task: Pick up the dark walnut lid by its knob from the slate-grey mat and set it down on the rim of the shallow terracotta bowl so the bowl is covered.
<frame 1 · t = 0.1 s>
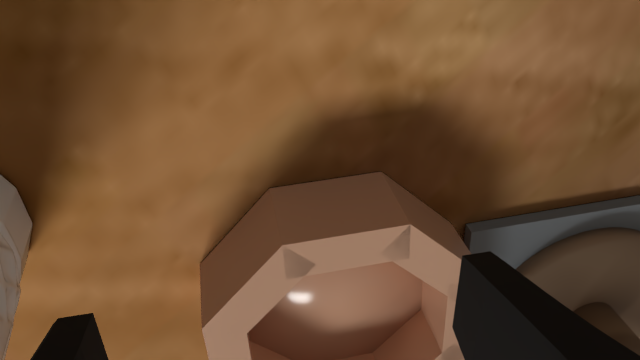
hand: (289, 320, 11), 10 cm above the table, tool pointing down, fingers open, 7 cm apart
bowl: (331, 282, 25), on the table
lid: (574, 309, 28), point 1 cm above the table, touching mat
mat: (567, 300, 28), on the table
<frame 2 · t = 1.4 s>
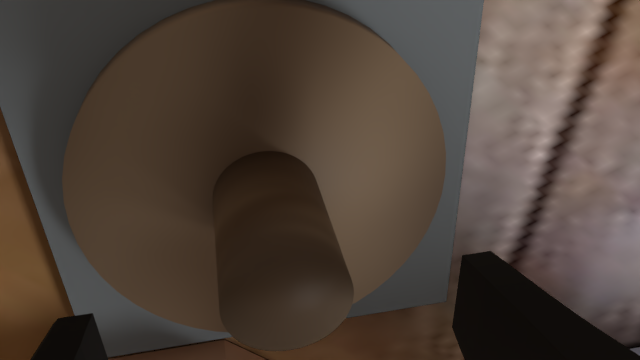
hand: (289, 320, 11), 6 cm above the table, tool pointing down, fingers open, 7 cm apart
lid: (262, 177, 16), point 1 cm above the table, touching mat
mat: (260, 167, 16), on the table
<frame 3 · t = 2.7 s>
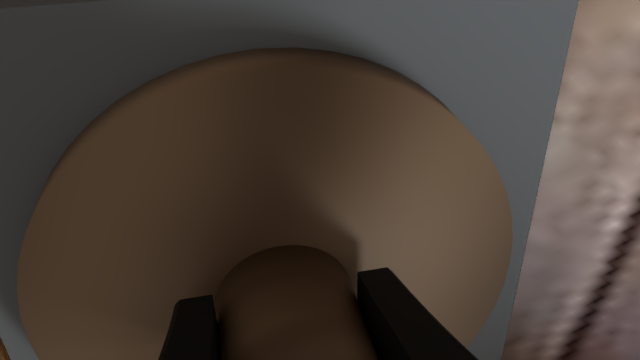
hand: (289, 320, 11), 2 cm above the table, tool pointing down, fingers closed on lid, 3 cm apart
lid: (278, 267, 13), point 1 cm above the table, touching gripper, mat
mat: (274, 250, 13), on the table
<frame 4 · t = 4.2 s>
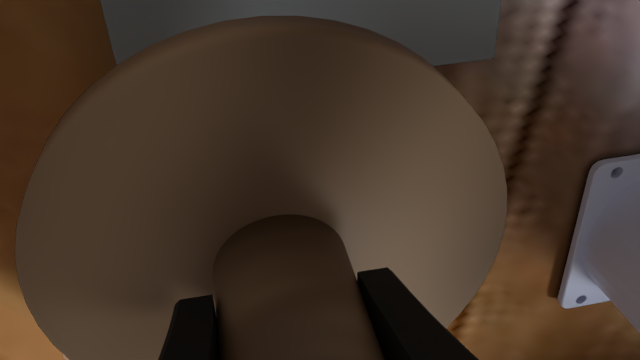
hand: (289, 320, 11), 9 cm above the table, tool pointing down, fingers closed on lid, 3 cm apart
lid: (274, 235, 13), point 7 cm above the table, touching gripper
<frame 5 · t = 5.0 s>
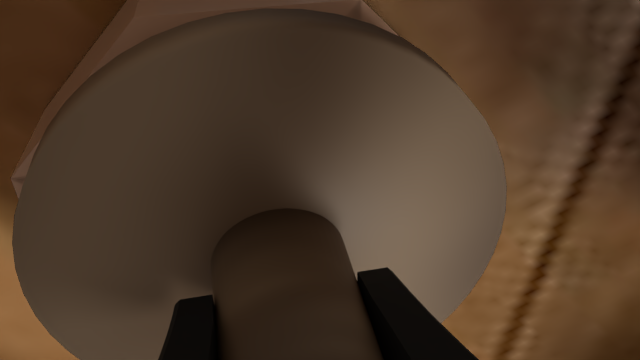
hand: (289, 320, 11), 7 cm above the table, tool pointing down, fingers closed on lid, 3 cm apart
bowl: (256, 157, 17), on the table
lid: (272, 228, 13), point 4 cm above the table, tilted 5°, touching gripper
when the fingers open (6 cm above the table, at t = 5.7 s): lid stays where it is, resting on bowl.
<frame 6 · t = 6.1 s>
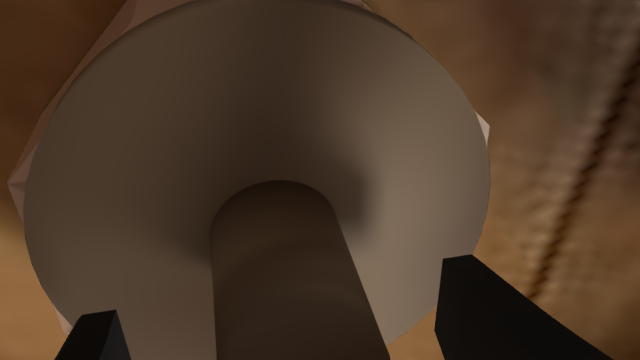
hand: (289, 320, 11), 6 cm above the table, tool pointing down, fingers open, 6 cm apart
bowl: (256, 160, 17), on the table
lid: (269, 208, 13), point 3 cm above the table, touching bowl
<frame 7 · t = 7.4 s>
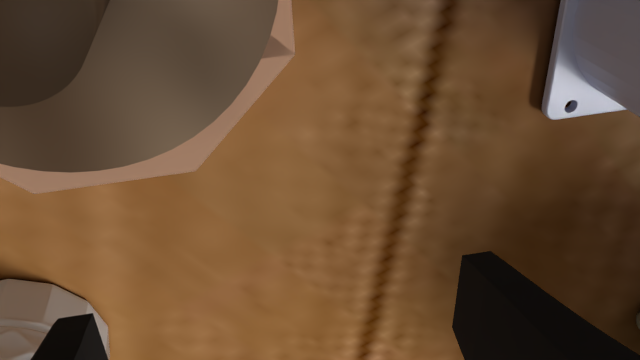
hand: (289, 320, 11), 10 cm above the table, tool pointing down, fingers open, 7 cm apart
white cup: (23, 337, 23), on the table
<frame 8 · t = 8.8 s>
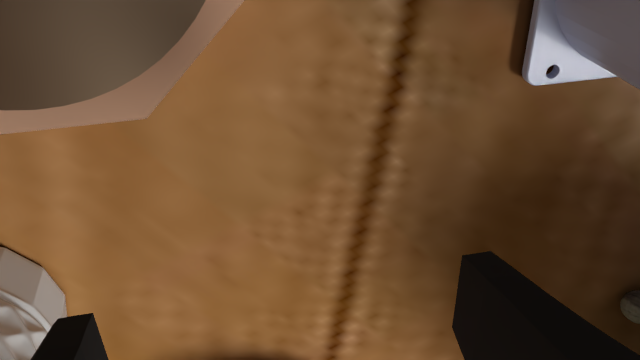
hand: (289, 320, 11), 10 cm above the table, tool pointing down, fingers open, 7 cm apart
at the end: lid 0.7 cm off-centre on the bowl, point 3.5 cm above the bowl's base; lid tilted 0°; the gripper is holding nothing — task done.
